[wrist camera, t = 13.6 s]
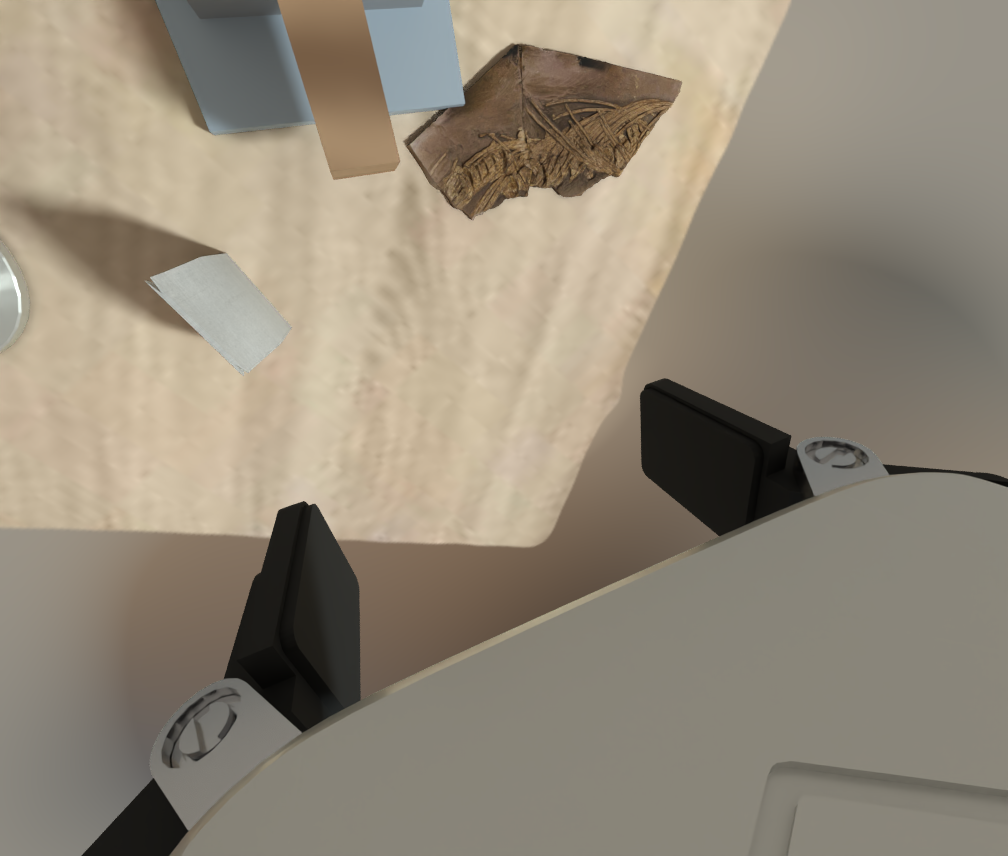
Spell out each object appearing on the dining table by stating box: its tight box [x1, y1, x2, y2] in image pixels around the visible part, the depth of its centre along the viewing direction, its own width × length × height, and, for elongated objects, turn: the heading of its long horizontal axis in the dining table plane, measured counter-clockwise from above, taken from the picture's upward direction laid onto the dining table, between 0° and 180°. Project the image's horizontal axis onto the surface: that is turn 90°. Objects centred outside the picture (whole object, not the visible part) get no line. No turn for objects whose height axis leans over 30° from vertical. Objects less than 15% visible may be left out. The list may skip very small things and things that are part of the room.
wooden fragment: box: [407, 45, 682, 220], centre depth 34 cm, size 26×11×1 cm, turn 101°
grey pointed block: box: [145, 253, 292, 376], centre depth 28 cm, size 4×7×10 cm, turn 29°
